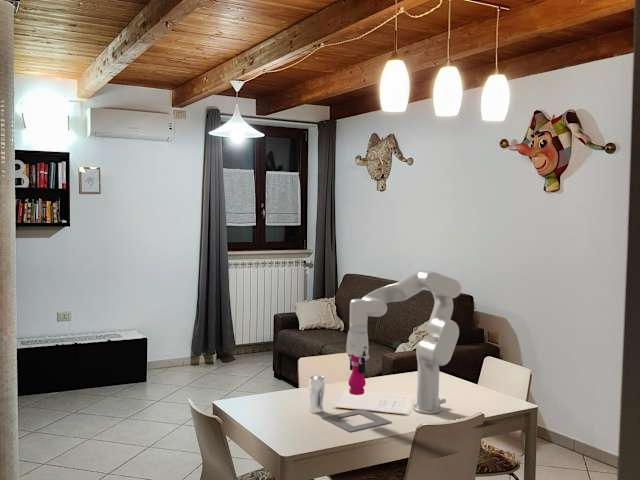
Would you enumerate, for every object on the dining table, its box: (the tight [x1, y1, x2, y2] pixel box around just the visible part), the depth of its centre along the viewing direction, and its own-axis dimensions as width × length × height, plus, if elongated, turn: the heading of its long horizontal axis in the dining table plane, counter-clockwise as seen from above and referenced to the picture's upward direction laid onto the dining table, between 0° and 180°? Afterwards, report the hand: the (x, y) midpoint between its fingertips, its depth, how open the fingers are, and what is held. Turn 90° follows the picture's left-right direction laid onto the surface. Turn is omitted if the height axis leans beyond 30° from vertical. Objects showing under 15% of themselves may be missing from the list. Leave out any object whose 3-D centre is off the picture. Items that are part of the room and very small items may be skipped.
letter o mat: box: [321, 408, 393, 433], centre depth 272 cm, size 22×20×1 cm
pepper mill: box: [347, 354, 366, 396], centre depth 271 cm, size 7×7×20 cm
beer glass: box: [308, 375, 326, 414], centre depth 283 cm, size 7×7×15 cm
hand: (357, 370), depth 271 cm, fingers closed on pepper mill, 5 cm apart
